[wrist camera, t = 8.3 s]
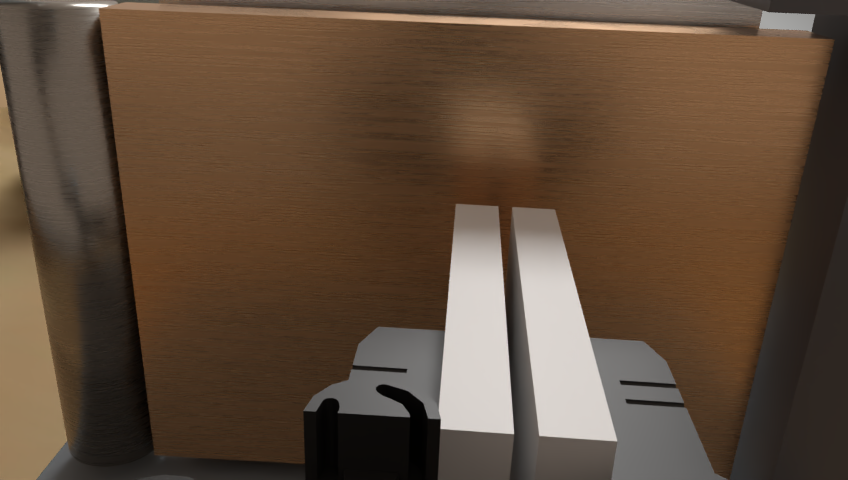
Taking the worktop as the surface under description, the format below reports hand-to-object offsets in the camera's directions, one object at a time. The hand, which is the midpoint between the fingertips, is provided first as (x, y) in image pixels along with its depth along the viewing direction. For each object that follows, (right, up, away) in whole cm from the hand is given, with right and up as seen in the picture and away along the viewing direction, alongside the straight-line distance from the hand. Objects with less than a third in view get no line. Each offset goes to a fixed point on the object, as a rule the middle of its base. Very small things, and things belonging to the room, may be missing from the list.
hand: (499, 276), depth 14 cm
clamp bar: (-2, -4, +4) cm, 6 cm away
